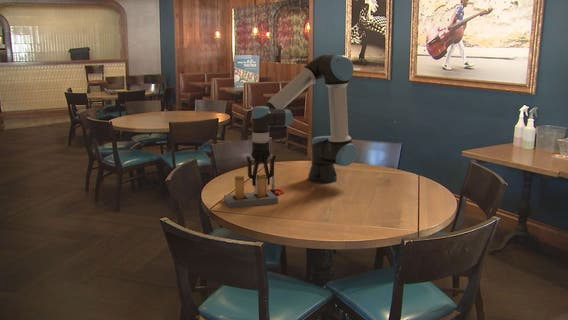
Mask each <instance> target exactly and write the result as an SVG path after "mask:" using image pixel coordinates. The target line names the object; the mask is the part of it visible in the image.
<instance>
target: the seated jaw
mask: <svg viewBox="0 0 568 320" xmlns="http://www.w3.org/2000/svg"><path fill="white" fill-rule="evenodd" d="M244 193H245V176H243V175H236V176H235V177H234V194H235V200H241V199H244Z"/></svg>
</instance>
